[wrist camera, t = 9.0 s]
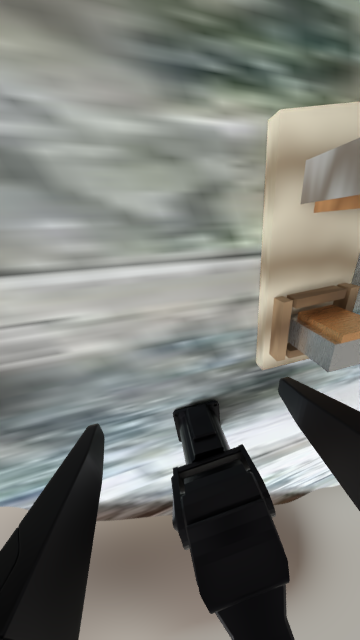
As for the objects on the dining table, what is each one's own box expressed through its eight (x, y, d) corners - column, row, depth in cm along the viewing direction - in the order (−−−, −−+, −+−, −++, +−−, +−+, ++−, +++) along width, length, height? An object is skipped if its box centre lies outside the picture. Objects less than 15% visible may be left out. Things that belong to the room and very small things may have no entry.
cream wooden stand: (322, 346, 26) (384, 385, 20) (256, 362, 25) (297, 410, 19) (379, 108, 16) (554, 19, 9) (267, 120, 15) (373, 29, 8)
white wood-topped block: (321, 329, 23) (376, 359, 18) (283, 338, 23) (328, 372, 17) (327, 300, 21) (390, 323, 16) (287, 309, 21) (337, 336, 15)
